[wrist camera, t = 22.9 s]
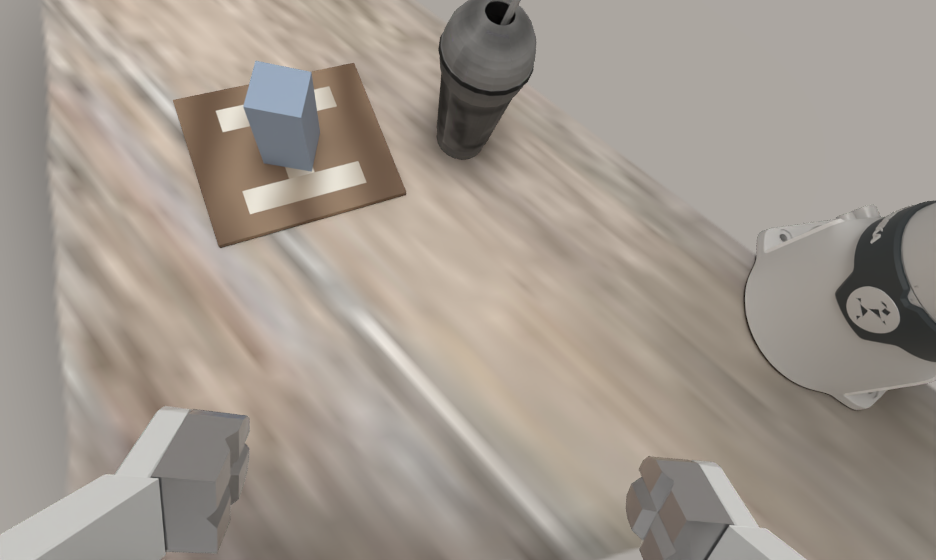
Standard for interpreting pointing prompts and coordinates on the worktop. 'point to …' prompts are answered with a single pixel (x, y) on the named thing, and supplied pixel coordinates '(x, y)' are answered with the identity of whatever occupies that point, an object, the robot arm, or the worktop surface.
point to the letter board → (281, 188)
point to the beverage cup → (481, 71)
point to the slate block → (283, 115)
